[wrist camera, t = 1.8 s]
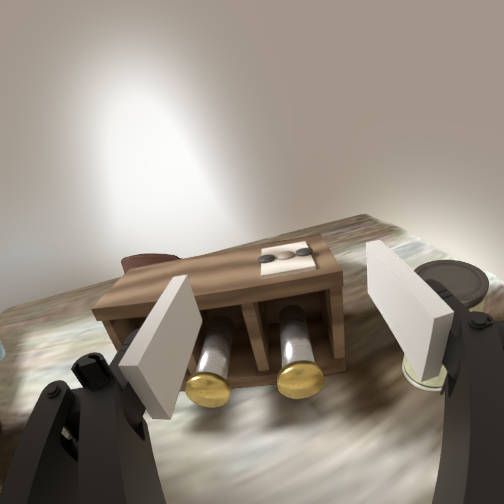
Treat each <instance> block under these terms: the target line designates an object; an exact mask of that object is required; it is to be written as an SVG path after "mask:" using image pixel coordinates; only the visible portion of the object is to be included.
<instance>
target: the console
mask: <svg viewBox="0 0 504 504" xmlns="http://www.w3.org/2000/svg"><path fill="white" fill-rule="evenodd" d="M182 275H188V279H189V282H190V285H191V288H192V291H193V294H194V297H195V300H196V303H197V306H198V309H199V312H200V315H201V318H202V324H201V327H200V330H199V333H198V336H197V339H196V342H195V345H194V348H193V351H192V354H191V357H190V360H189V363H188V366H187V369H186V372H185V375H184V379H183V382H182V385H181V388H180V391H185V388H186V385H187V381H188V379H189V377H190V376H191V375H192V374H194V373H196V370H197V366H198V363H199V359H200V356H201V352H202V349H203V345H204V342H205V338H206V335H207V331H208V328H209V325H210V321H211V320H212V319H213V318H214V317H216V316H226V317H228V318H230V319H231V320H232V321H233V323H234V325H235V329H234V335H233V341H232V348H231V354H230V360H229V366H228V373H227V379H226V380H227V381H228V383H229V385H230V388H242V387H252V386H261V385H270V384H277V376H278V373H279V371H280V370H281V368H282V354H281V339H280V324H279V313H280V311H281V310H282V309H283V308H284V307H285V306H288V305H297V306H300V307H301V308H302V309H303V310H304V313H305V318H306V322H307V327H308V332H309V336H310V341H311V346H312V351H313V356H314V361H315V363H316V364H318V365H319V366H320V367H321V369H322V372H323V376H326V375H331V374H336V373H341V372H346V359H345V339H344V314H343V296H342V287H343V272H342V269H341V267H340V266H339V264H338V262H337V261H336V259H335V257H334V256H333V254H332V252H331V251H330V249H329V247H328V246H327V244H326V243H325V241H324V239H323V238H322V236H321V234H317V235H311V236H306V237H300V238H294V239H289V240H283V241H278V242H272V243H267V244H261V245H256V246H250V247H245V248H239V249H234V250H228V251H223V252H217V253H212V254H206V255H201V256H195V257H190V258H185V259H179V260H174V261H169V262H163V263H158V264H152V265H147V266H142V267H137V268H131V269H129V270H128V271H127V272H126V273H125V274H124V275H123V276H122V277H121V278H120V279H119V280H118V281H117V282H116V283H115V284H114V285H113V286H112V287H111V288H110V290H109V291H108V292H107V293H106V294H105V295H104V296H103V297H102V298H101V299H100V300H99V301H98V302H97V303H96V304H95V305H94V307H93V308H92V309H91V310H92V312H93V314H94V316H95V318H96V320H97V321H102V323H103V325H104V327H105V329H106V331H107V333H108V335H109V337H110V339H111V340H112V342H113V344H114V346H115V348H116V350H117V352H119V349H120V347H121V346H123V343H124V341H125V340H126V338H127V336H129V335H130V334H131V333H132V332H133V331H134V330H136V329H140V328H141V327H142V325H143V323H144V322H145V320H146V319H147V317H148V315H149V314H150V312H151V311H152V309H153V307H154V306H155V304H156V303H157V301H158V300H159V298H160V296H161V295H162V293H163V292H164V290H165V289H166V287H167V286H168V284H169V283H170V281H171V280H172V278H173V277H176V276H182Z"/></svg>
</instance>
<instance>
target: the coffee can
mask: <svg viewBox="0 0 504 504" xmlns="http://www.w3.org/2000/svg"><path fill="white" fill-rule="evenodd" d="M414 272H415V273H416V274H417V275H418V276H419V277H420V278H421V279H423V280H426V279H430V278H431V279H433V280H435V281H438V282H440V283H441V284H442V285H444V286H445V287H446V288H447V290H449V291H450V292H451V293H452V294H453V296H455V297H456V298H457V299H458V300H459V301H460V302H461V303H462V304H463V305H464V306H465V307H466V308H467V309H468V310H469V311H470V312H473V311H479V312H483V307H484V303H485V298H486V294H487V292H488V288H489V281H488V278H487V276H486V274H485V273H484V272H483V271H482V270H480V269H479V268H477V267H475V266H473V265H471V264H468V263H465V262H461V261H455V260H437V261H432V262H428V263H425V264H422V265H420V266H418V267H417V268H416V269H415V270H414ZM402 369H403V373H404V375H405V377H406V379H407V380H408V381H409V382H410V383H411V384H413V385H414V386H416V387H417V388H420V389H422V390H426V391H441V389H442V386H443V383H444V381H445V377H446V374H447V370H446V368H445V367H444V365H443V364H442V367H441V370H440V374H439V376H437V377H435V378H432V379H429V380H427V381H424V382H420V380H419V378H418V377H417V375H416V373H415V371H414V369H413V367H412V366H411V364H410V362H409V360H408V358H407V357H406V355H405V354H404V359H403V364H402Z"/></svg>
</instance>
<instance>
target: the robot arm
mask: <svg viewBox="0 0 504 504" xmlns="http://www.w3.org/2000/svg"><path fill="white" fill-rule="evenodd" d="M366 254H367V276H368V294H369V295H370V297H371V298H372V300H373V301H374V303H375V305H376V306H377V308H378V309H379V311H380V313H381V314H382V316H383V318H384V319H385V321H386V322H387V324H388V326H389V327H390V329H391V331H392V332H393V334H394V336H395V338H396V339H397V341H398V343H399V344H400V346H401V348H402V350H403V351H404V353H405V355H406V357H407V358H408V360H409V362H410V364H411V366H412V367H413V369H414V371H415V373H416V375H417V377H418V378H419V380H420V382H424V381H427V380H429V379H432V378H435V377H437V376H439V374H440V370H441V367H442V364H443V365H444V367H445V368H446V370H447V374H446V377H445V381H444V383H443V386H442V389H441V393H440V395H443V393H444V390H445V410H444V427H443V439H442V449H441V457H440V464H439V470H438V476H437V482H436V487H435V492H434V497H433V501H432V504H504V321H496V322H495V321H494V319H493V318H492V317H491V316H490V315H488V314H486V313H484V312H479V311H473V312H470V311H469V310H468V309H467V308H466V307H465V306H464V305H463V304H462V303H461V302H460V301H459V300H458V299H457V298H456V297H455V296H453V294H452V293H451V292H450V291H449V290H447V288H446V287H445V286H444V285H442V284H441V283H440V282H438V281H435V280H433V279H431V278H430V279H426V280H423V279H421V278H420V277H419V276H418V275H417V274H416V273H415V272H414V271H413V270H412V269H411V268H410V267H409V266H408V265H407V264H406V263H405V262H404V261H403V260H402V259H400V258H399V257H398V256H397V255H396V254H395V253H394V252H393V251H392V250H391V249H390V248H388V247H387V246H386V245H385V244H384V243H383V242H382V241H381V240H378V241H372V242H367V243H366ZM201 324H202V318H201V315H200V312H199V309H198V306H197V303H196V300H195V297H194V294H193V291H192V288H191V285H190V282H189V279H188V275H182V276H176V277H173V278H172V280H171V281H170V283H169V284H168V286H167V287H166V289H165V290H164V292H163V293H162V295H161V296H160V298H159V300H158V301H157V303H156V304H155V306H154V307H153V309H152V311H151V312H150V314H149V315H148V317H147V319H146V320H145V322H144V323H143V325H142V327H141V328H140V329H136V330H134V331H133V332H132V333H131V334H130V335H129V336H127V338H126V340H125V341H124V343H123V346H121V347H120V349H119V352H117V354H116V355H115V357H114V359H113V360H112V362H111V363H110V365H108V364H107V362H106V360H105V358H104V357H103V355H102V354H100V353H95V352H94V353H89V354H86V355H84V356H82V357H81V358H79V359H78V360H77V361H76V362H75V363H74V364H73V366H72V368H71V370H72V371H73V373H74V374H75V376H76V377H77V379H78V380H79V382H80V383H81V385H82V386H83V388H78V389H72V390H71V389H70V388H69V386H68V385H67V383H66V382H64V381H61V380H58V381H54V382H52V383H50V384H48V385H47V386H46V387H45V388H44V390H43V391H42V393H41V395H40V397H39V399H38V401H37V403H36V405H35V407H34V409H33V411H32V413H31V415H30V418H29V420H28V422H27V424H26V426H25V429H24V431H23V433H22V436H21V438H20V440H19V443H18V445H17V448H16V450H15V453H14V455H13V458H12V461H11V463H10V466H9V469H8V472H7V474H6V477H5V480H4V484H3V487H2V490H1V493H0V504H166V502H165V498H164V495H163V491H162V488H161V484H160V480H159V476H158V473H157V468H156V464H155V460H154V456H153V451H152V447H151V442H150V437H149V432H148V426H147V423H146V421H145V420H144V418H143V415H144V412H145V410H147V412H148V413H149V415H150V416H151V417H152V419H168V420H171V417H172V414H173V410H174V407H175V404H176V401H177V398H178V394H179V391H180V388H181V385H182V382H183V379H184V375H185V372H186V369H187V366H188V363H189V360H190V357H191V354H192V351H193V348H194V345H195V342H196V339H197V336H198V333H199V330H200V327H201ZM4 356H5V351H4V347H3V345H2V342H1V340H0V361H1V360H2V359H3V358H4ZM63 427H64V428H65V429H66V431H67V432H68V433H69V434H70V435H69V437H68V439H67V438H65V437H64V436H63V434H62V433H61V432H62V429H63Z"/></svg>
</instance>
